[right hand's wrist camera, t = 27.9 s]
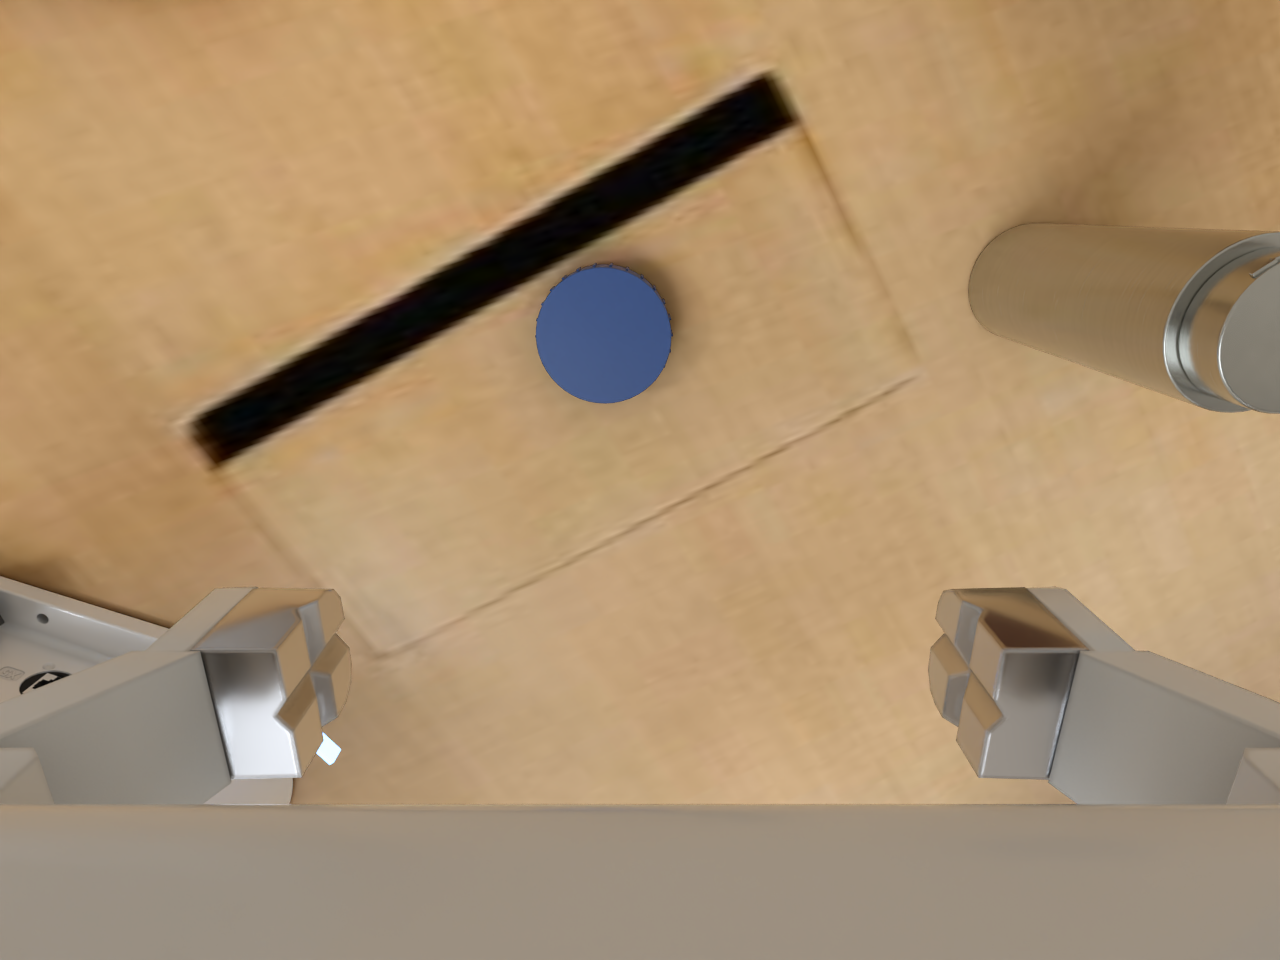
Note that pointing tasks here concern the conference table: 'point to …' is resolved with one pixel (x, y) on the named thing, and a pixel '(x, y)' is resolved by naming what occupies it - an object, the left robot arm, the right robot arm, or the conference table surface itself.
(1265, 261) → the jar
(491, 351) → the conference table surface
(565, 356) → the lid
